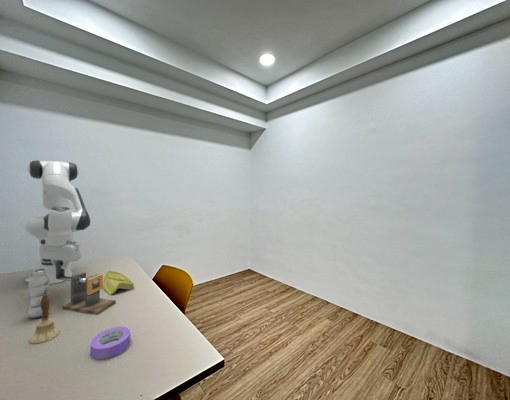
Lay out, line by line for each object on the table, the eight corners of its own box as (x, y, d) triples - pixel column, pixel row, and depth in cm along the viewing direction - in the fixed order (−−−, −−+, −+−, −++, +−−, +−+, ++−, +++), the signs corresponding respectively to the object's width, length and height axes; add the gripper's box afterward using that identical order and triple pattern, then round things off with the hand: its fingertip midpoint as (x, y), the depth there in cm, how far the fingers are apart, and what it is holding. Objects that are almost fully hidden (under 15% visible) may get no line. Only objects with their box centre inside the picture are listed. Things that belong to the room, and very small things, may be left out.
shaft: (54, 280, 103) (54, 262, 103) (61, 278, 106) (61, 260, 106) (93, 285, 99) (93, 266, 99) (99, 282, 102) (99, 264, 102)
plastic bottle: (53, 313, 95) (53, 268, 94) (33, 321, 89) (33, 274, 88) (44, 310, 97) (44, 266, 96) (24, 318, 91) (24, 271, 90)
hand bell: (65, 331, 83) (65, 290, 83) (40, 345, 75) (40, 301, 75) (49, 327, 85) (49, 288, 85) (22, 341, 77) (22, 298, 76)
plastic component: (135, 284, 121) (118, 282, 114) (128, 297, 119) (110, 296, 112) (122, 273, 133) (105, 270, 126) (115, 284, 131) (98, 282, 124)
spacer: (86, 294, 97) (87, 279, 97) (100, 288, 104) (100, 273, 104) (89, 294, 97) (89, 279, 97) (102, 288, 104) (102, 274, 104)
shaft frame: (62, 309, 98) (62, 278, 98) (83, 298, 108) (83, 270, 108) (97, 314, 95) (97, 282, 94) (115, 303, 105) (116, 274, 104)
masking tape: (85, 363, 68) (85, 352, 68) (96, 340, 79) (96, 330, 79) (127, 354, 73) (127, 343, 73) (132, 333, 84) (132, 323, 84)
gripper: (84, 240, 105) (84, 268, 105) (50, 237, 109) (50, 264, 109) (71, 243, 99) (71, 272, 99) (36, 240, 102) (36, 268, 103)
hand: (60, 268), depth 104 cm, fingers open, 3 cm apart
